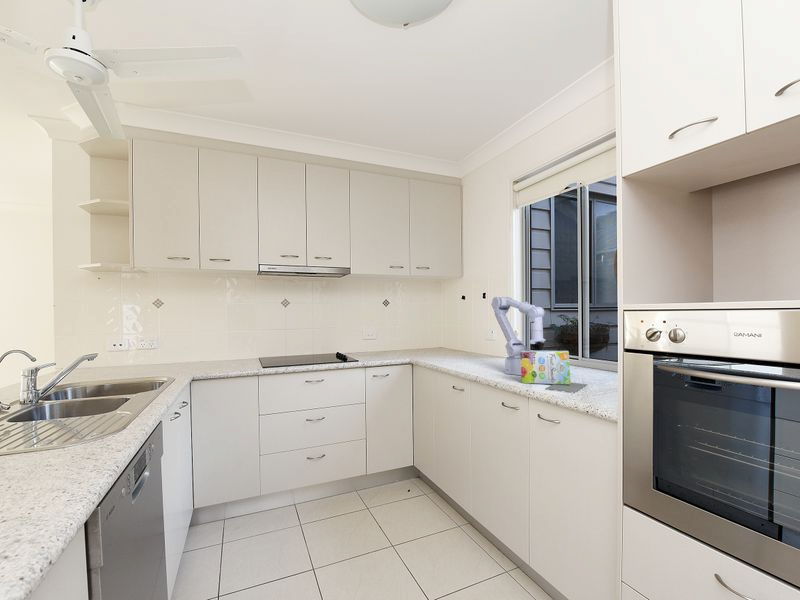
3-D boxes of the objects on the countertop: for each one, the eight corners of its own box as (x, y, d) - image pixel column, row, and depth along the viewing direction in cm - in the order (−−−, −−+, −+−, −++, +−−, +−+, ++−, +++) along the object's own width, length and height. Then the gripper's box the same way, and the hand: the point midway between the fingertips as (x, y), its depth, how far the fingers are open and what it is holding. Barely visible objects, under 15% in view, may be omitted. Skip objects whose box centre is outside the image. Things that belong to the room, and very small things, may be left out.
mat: (545, 389, 160) (545, 388, 160) (560, 382, 175) (560, 381, 175) (574, 393, 152) (574, 392, 152) (587, 385, 168) (587, 384, 168)
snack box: (570, 383, 170) (568, 350, 171) (570, 385, 165) (568, 351, 166) (522, 381, 179) (521, 350, 180) (521, 383, 174) (519, 351, 175)
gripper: (539, 331, 179) (541, 359, 178) (549, 330, 190) (550, 356, 189) (525, 331, 183) (526, 358, 182) (535, 330, 194) (537, 355, 194)
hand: (538, 357), depth 186 cm, fingers closed
